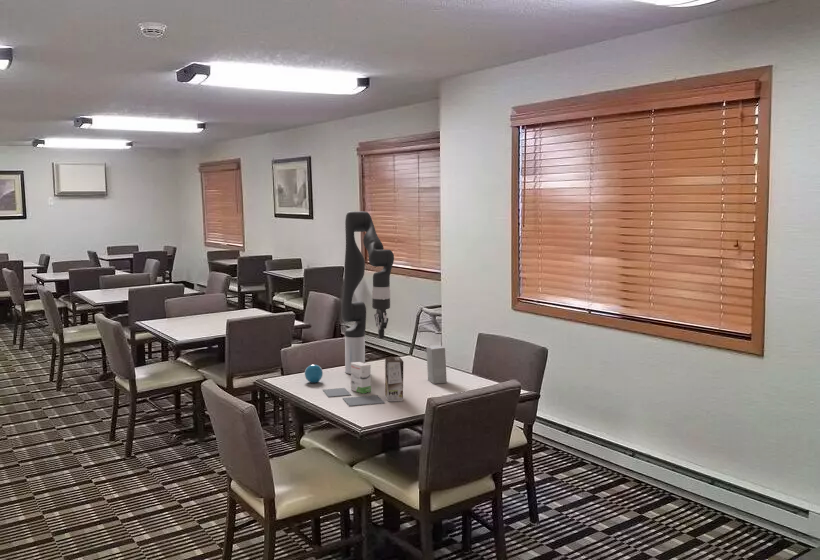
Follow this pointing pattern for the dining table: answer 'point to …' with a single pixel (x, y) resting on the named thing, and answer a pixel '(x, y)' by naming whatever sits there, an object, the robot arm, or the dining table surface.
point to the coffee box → (394, 379)
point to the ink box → (360, 377)
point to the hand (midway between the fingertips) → (381, 337)
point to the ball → (313, 373)
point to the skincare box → (436, 364)
